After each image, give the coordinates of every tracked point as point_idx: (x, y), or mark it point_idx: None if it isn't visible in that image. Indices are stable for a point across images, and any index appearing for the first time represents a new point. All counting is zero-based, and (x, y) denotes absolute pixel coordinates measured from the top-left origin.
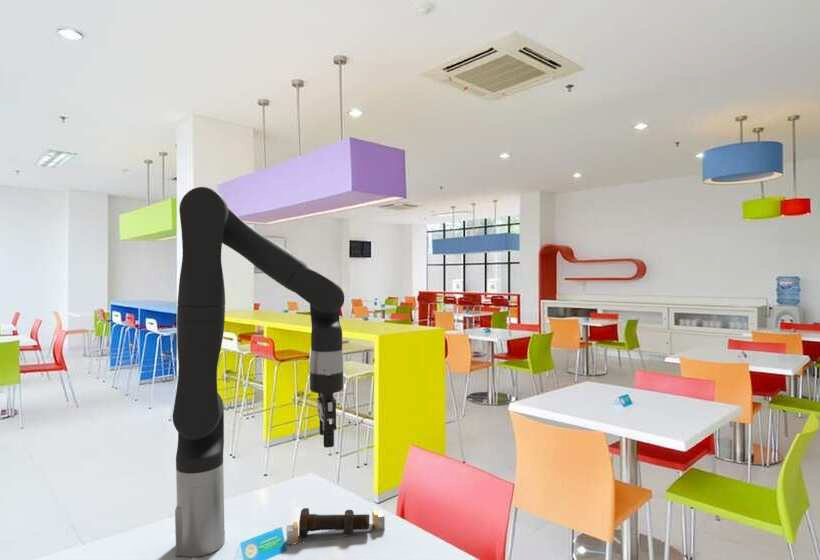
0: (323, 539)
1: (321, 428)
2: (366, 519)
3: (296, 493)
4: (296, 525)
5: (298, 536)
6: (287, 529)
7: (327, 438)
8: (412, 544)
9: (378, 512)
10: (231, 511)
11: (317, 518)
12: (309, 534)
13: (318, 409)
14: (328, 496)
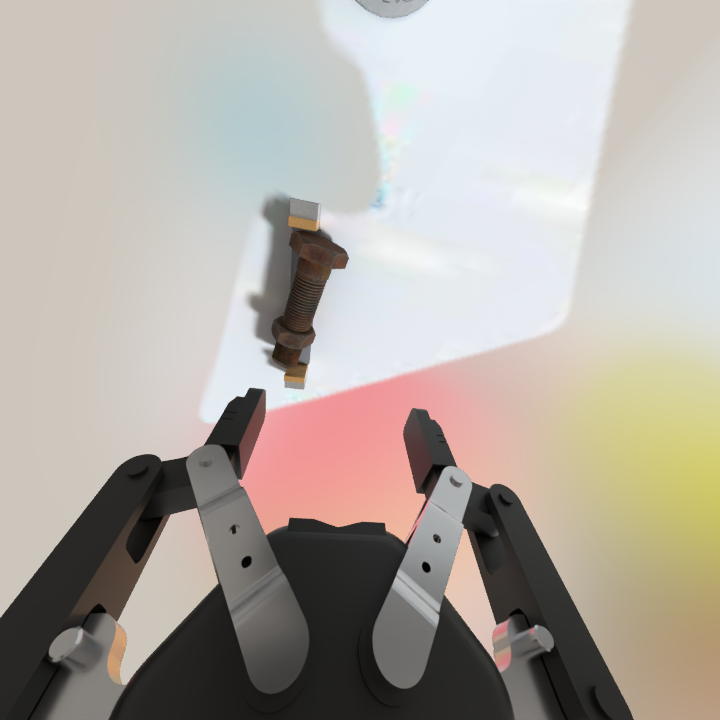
0: (291, 276)
1: (418, 431)
2: (276, 359)
3: (506, 279)
4: (299, 225)
5: (317, 231)
6: (299, 201)
7: (218, 425)
8: (233, 390)
9: (300, 383)
10: (539, 82)
11: (300, 277)
12: None
13: (415, 531)
14: (449, 332)
